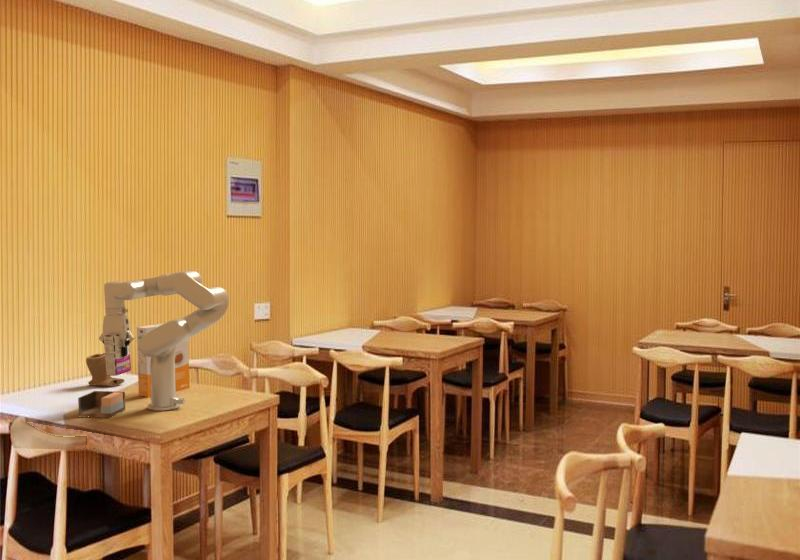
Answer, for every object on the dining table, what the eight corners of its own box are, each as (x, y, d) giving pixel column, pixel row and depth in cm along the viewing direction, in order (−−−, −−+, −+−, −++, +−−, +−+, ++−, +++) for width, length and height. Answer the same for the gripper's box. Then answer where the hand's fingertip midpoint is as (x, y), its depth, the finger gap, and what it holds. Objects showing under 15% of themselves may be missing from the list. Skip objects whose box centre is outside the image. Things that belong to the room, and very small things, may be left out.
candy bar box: (120, 370, 319) (118, 331, 318) (131, 370, 318) (129, 331, 317) (105, 375, 308) (102, 335, 307) (116, 376, 307) (114, 335, 306)
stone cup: (81, 386, 352) (79, 354, 351) (101, 381, 362) (100, 350, 361) (105, 389, 345) (104, 356, 344) (125, 384, 356) (124, 352, 355)
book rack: (125, 410, 307) (124, 391, 306) (110, 417, 294) (109, 398, 294) (94, 409, 308) (94, 391, 308) (78, 417, 296) (77, 398, 295)
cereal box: (180, 386, 351) (178, 321, 349) (189, 388, 347) (187, 322, 345) (138, 395, 332) (136, 327, 330) (148, 397, 329) (146, 328, 327)
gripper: (139, 310, 314) (141, 354, 315) (100, 311, 316) (102, 354, 317) (130, 312, 307) (133, 357, 308) (90, 313, 309) (93, 358, 310)
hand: (117, 355), depth 313 cm, fingers closed on candy bar box, 5 cm apart
